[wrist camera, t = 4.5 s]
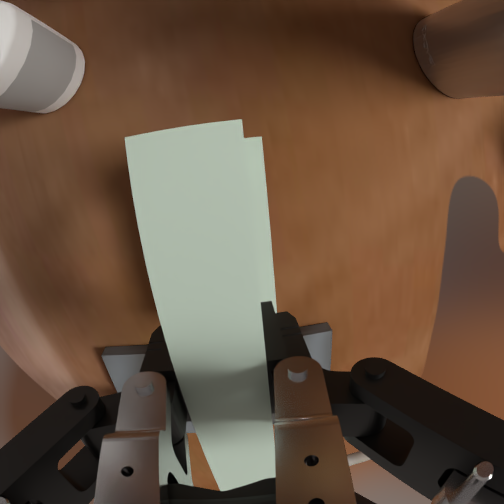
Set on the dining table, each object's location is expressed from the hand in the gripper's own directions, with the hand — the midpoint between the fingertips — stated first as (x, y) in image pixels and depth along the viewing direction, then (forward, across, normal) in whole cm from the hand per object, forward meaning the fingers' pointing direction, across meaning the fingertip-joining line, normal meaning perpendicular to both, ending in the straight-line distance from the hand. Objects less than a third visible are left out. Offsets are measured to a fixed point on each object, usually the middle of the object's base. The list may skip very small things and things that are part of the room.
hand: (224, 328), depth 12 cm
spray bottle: (+14, +13, -16) cm, 25 cm away
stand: (+10, 0, 0) cm, 10 cm away
